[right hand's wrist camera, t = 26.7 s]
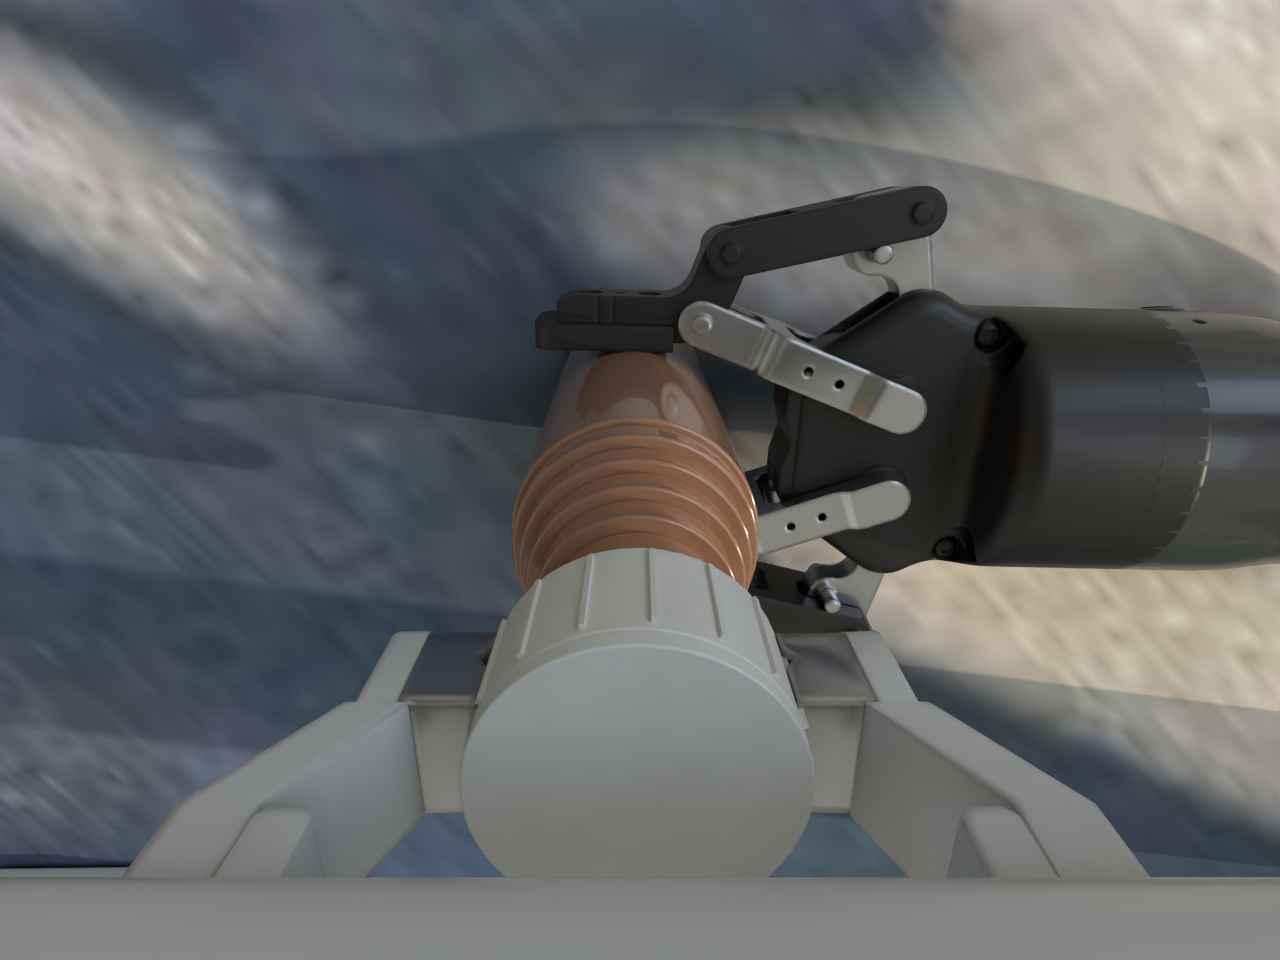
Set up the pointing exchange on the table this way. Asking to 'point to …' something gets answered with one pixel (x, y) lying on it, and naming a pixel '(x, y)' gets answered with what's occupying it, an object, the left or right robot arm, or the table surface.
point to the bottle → (634, 469)
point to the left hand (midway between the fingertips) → (543, 427)
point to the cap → (637, 728)
